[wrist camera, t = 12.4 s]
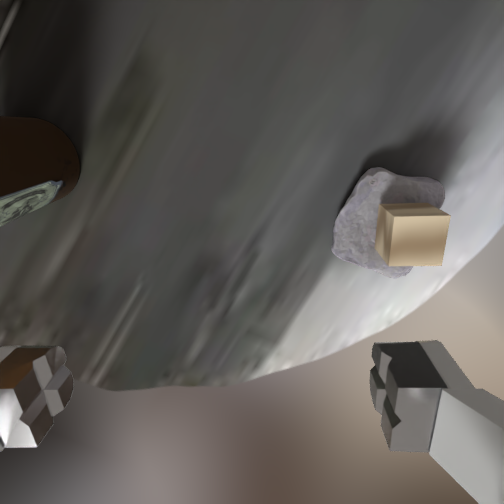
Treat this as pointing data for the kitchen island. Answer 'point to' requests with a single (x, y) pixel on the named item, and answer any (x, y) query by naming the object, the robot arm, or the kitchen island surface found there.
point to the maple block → (411, 234)
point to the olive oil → (33, 166)
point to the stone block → (366, 213)
